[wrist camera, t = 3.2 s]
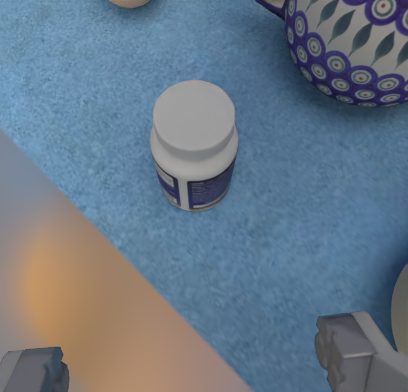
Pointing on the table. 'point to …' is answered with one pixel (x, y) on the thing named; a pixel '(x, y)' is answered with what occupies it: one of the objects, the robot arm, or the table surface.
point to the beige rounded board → (400, 311)
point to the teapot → (349, 47)
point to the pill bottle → (194, 143)
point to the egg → (129, 3)
